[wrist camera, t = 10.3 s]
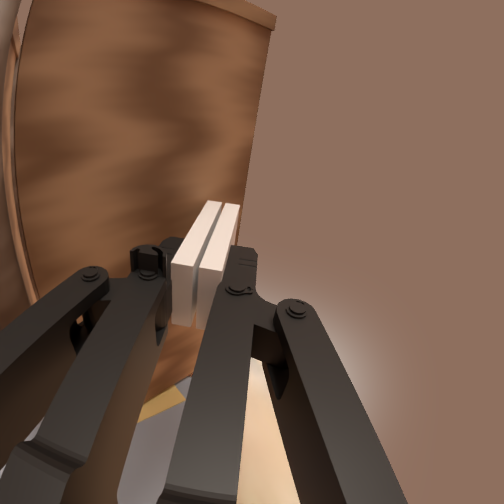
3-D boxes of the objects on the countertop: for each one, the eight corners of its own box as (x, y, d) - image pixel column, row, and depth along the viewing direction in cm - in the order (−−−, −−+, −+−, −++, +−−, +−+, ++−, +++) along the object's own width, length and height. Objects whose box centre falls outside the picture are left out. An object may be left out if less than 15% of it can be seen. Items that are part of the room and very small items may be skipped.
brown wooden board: (99, 430, 15) (50, -44, 3) (90, 415, 16) (42, -29, 4) (223, 354, 24) (276, 16, 12) (212, 345, 24) (257, 17, 13)
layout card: (-77, 465, 3) (-81, 462, 3) (11, 322, 21) (9, 319, 21) (146, 611, 4) (145, 612, 4) (192, 380, 22) (192, 376, 21)
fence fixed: (99, 445, 14) (39, -56, 2) (72, 455, 13) (-24, -43, 1) (49, 314, 24) (29, 37, 12) (29, 320, 22) (2, 41, 10)
